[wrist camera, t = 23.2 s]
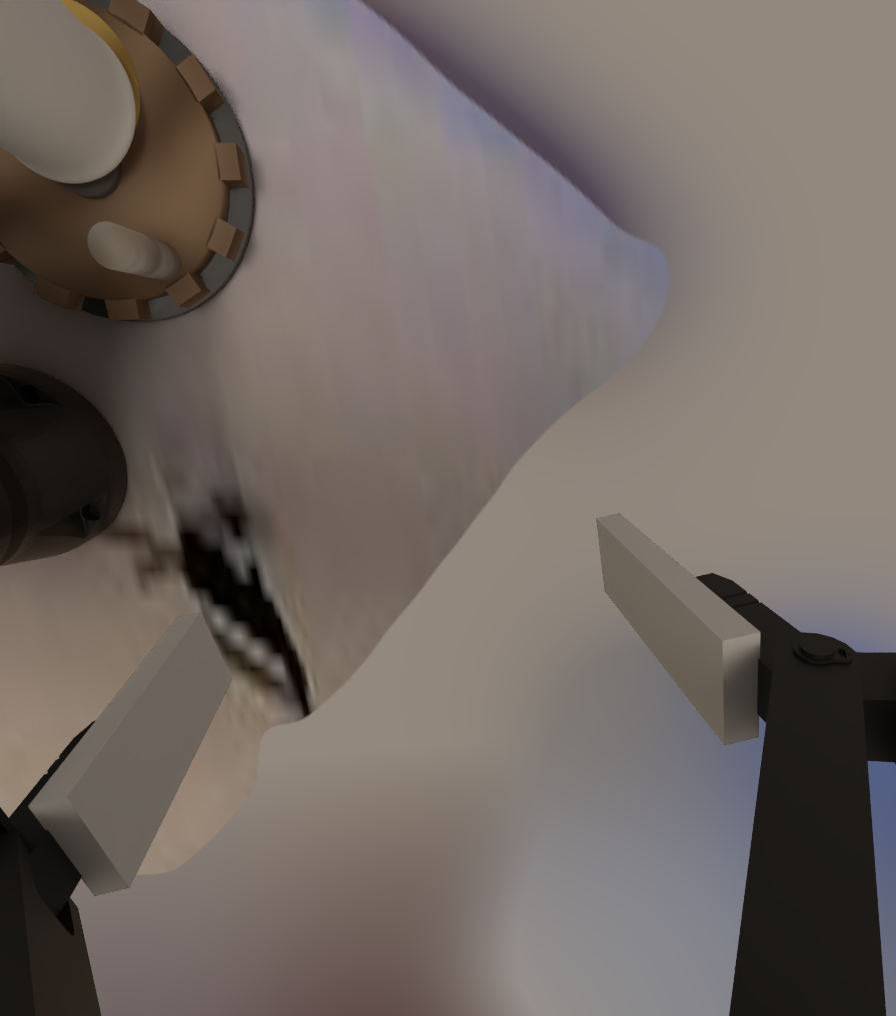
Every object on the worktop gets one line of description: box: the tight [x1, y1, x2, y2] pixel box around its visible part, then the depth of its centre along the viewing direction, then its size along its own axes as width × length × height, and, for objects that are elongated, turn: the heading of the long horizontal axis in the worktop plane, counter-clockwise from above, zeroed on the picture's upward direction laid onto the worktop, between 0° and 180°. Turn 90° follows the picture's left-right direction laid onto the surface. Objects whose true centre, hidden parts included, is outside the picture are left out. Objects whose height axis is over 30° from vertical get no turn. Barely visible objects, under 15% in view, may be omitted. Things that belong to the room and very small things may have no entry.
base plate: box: [13, 0, 255, 322], centre depth 33 cm, size 19×19×1 cm
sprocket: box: [0, 0, 249, 320], centre depth 28 cm, size 18×18×8 cm
